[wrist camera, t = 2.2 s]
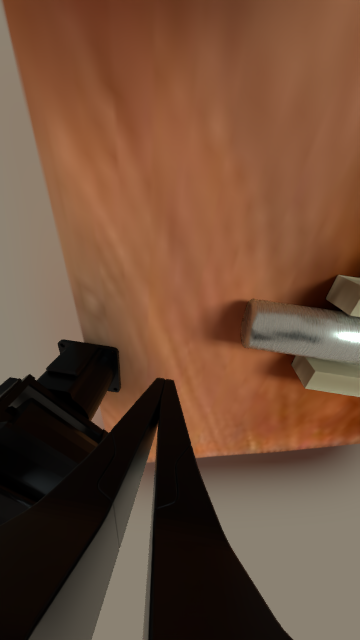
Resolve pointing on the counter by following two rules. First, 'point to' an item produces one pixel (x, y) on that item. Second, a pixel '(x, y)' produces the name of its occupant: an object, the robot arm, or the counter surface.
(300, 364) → the beam rails
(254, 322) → the axle
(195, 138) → the counter surface
